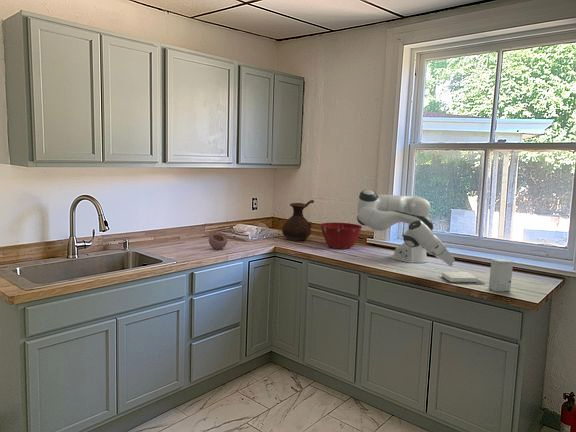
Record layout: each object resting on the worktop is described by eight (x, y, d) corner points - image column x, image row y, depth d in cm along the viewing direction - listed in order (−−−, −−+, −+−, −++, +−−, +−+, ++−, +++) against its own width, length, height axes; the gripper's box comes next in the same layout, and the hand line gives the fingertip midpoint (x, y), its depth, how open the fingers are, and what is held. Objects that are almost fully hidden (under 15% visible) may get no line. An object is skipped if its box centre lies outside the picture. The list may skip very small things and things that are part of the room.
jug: (296, 243, 327) (297, 201, 323) (276, 238, 342) (277, 198, 338) (317, 240, 341) (318, 200, 337) (297, 236, 357) (298, 197, 353)
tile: (450, 277, 234) (477, 278, 235) (441, 271, 246) (467, 272, 247) (450, 282, 234) (477, 282, 235) (441, 276, 246) (466, 276, 247)
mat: (456, 284, 233) (456, 283, 233) (443, 275, 249) (443, 275, 248) (485, 284, 234) (485, 283, 234) (471, 276, 249) (471, 275, 249)
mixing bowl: (340, 241, 338) (341, 221, 336) (369, 248, 316) (370, 226, 314) (311, 245, 321) (312, 223, 319) (339, 253, 299) (340, 229, 297)
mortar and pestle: (217, 251, 292) (217, 234, 290) (204, 249, 299) (204, 231, 297) (231, 249, 301) (231, 231, 300) (218, 246, 308) (218, 229, 307)
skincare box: (495, 291, 221) (498, 261, 219) (487, 288, 227) (490, 258, 225) (511, 291, 223) (514, 261, 221) (503, 287, 229) (505, 258, 227)
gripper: (422, 246, 248) (438, 264, 250) (436, 254, 228) (454, 274, 230) (431, 238, 248) (447, 256, 250) (446, 245, 228) (463, 265, 229)
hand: (451, 265), depth 240 cm, fingers closed
